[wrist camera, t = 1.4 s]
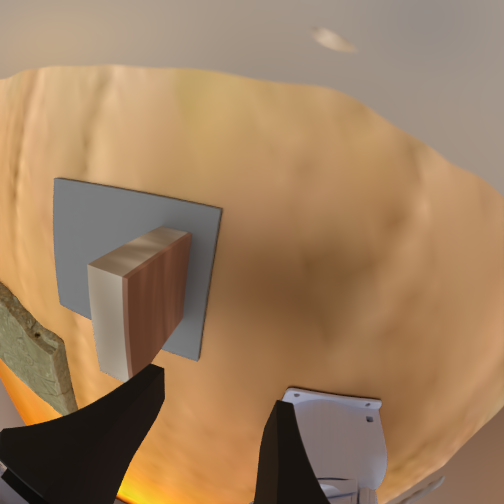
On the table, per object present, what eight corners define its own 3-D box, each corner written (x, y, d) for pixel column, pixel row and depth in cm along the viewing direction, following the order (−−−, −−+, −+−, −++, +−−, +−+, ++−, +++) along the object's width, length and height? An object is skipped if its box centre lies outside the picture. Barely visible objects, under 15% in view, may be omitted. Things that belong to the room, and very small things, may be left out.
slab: (192, 233, 18) (127, 278, 11) (182, 318, 21) (134, 386, 13) (161, 225, 19) (87, 264, 11) (155, 309, 21) (100, 370, 13)
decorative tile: (80, 410, 32) (69, 424, 29) (6, 348, 33) (-5, 357, 29) (68, 332, 26) (50, 347, 22) (-12, 264, 26) (-27, 272, 23)
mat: (222, 208, 18) (220, 209, 18) (199, 358, 22) (197, 361, 22) (58, 177, 19) (54, 178, 19) (63, 302, 24) (60, 304, 23)
